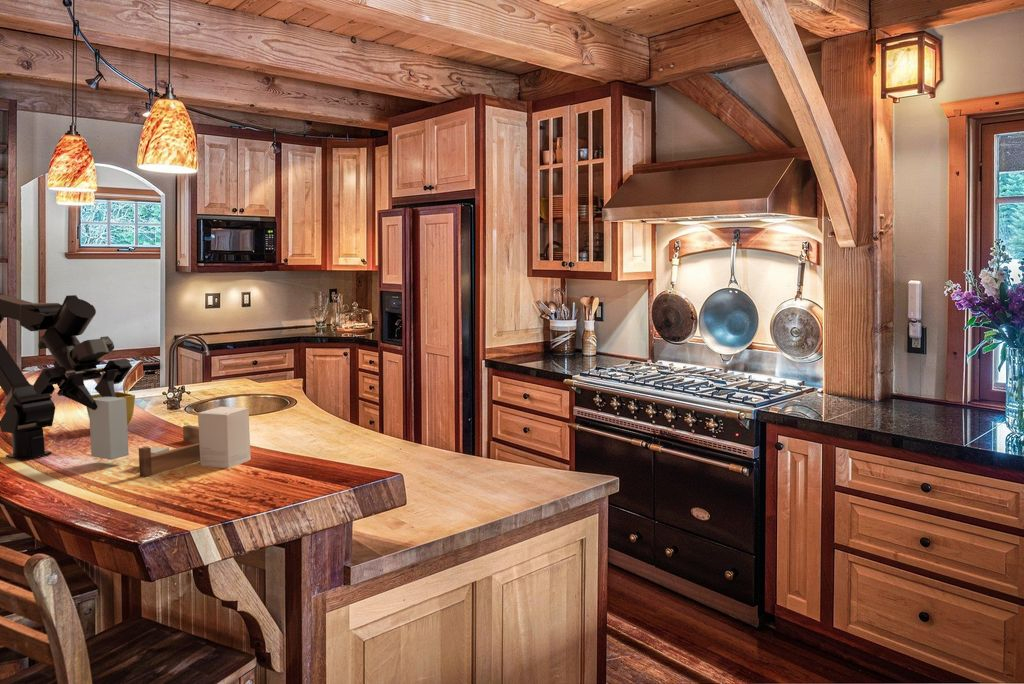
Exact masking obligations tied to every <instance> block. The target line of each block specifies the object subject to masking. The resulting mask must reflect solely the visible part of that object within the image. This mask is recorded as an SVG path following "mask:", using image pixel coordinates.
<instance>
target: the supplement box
mask: <svg viewBox="0 0 1024 684" xmlns="http://www.w3.org/2000/svg"><path fill="white" fill-rule="evenodd" d="M249 411H250V410H249V408H247V407H246V408H245V407H231V406H218V407H214V408H211V409H207V410H203V411H201V412H200V411H199V412H197V421H198V427H199V446H200V461H199V462H200V466H202V467H203V466H204V467H211V468H220V469H230V468H233V467H236V466H239V465H241V464H244V463H247V462H249V461H250V460H251V459H252V458H251V457H252V456H251V439H250V438H251V435H250V432H251V431H250V416H249V414H250V413H249Z"/></svg>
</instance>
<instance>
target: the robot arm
mask: <svg viewBox="0 0 1024 684" xmlns="http://www.w3.org/2000/svg"><path fill="white" fill-rule="evenodd" d="M96 313H97V310H96V307H95V306H94V305H93V304H91V303H89V302H88V301H86V300H84V299H82V298H79V297H78V296H77V295H75V294H74V295H73V294H72V295H66V296H65V297H64V300H63V302H62V304H61V303H59V302H38V303H37V302H30V301H28V300H24V299H20V298H18V297H17V298H16V297H12V296H9V295H6V294H4V293H1V292H0V324H1V323H2V322H3V321H4V320H5V317H6V318H10V319H13V320H15V321H18V322H19V325H20V326H21V327H22V328H24V329H26V330H28V331H30V332H40V331H41V332H42V331H44V332H43V335H40V338H39V342H38V349H39V350H44V349H46V350H47V349H48V351H49V353H50V354H51V355H52V357H53V358H54V362H53V364H52V365H53V367H48V368H47V367H44V368H43V369H42V370H41V371H40V373H39V375H38V376H37V379H36V380H35V382H34V383H33V384H31V383H30V382H29V381H28V379H27V378H26V376H25V374H24V373H23V372H22V370H21V368H20V367H19V365H18V363H16V361H15V360H14V358H13V356H12V355H11V353H10V352H9V350H8V349H7V347H6V346H5V344H4V343H3V341H2V340H1V339H0V388H1V389H2V391H3V393H4V394H5V396H6V398H5V404H4V409H5V412H4V414H3V416H2V417H1V419H0V431H1V433H8V434H11V443H12V453H10V454H5V458H7V457H8V458H7V459H13V460H18V461H27V459H28V460H33V459H35V458H39V456H41V457H44V455H45V456H49V455H52V451H50V450H49V451H48V450H46V449H45V448H46V447H45V446H46V445H45V435H44V428H49V427H52V426H53V423H54V418H55V412H56V405H55V402H54V401H53V400H52V395H53V393H54V392H55V390H56V388H55V385H57V387H58V388H59V390H58V392H57V394H56V395H58V396H59V397H60V396H62V397H64V398H67V399H69V400H72V401H75V402H77V403H79V404H81V405H83V406H85V407H86V408H87V407H88V408H90V409H92V410H96V408H97V404H96V402H95V401H94V399H93V397H92V396H91V395H92V394H91V393H90V391H89V389H88V388H87V387H86V385H85V381H92V380H93V381H94V382H95V384H96V386H95V387H94V388H93V389H94V390H95V391H96V393H98V394H100V395H101V396H102V397H104V396H110V397H116V396H115V392H116V391H115V386H114V385H118V384H121V383H122V382H123V381H124V380H125V378H126V377H127V375H128V374H129V372H130V371H131V369H132V368H133V365H132V364H131V363H130V361H129V360H128V359H127V358H118V359H109V360H108V361H107V363H106V364H105V366H102V367H98V366H97V365H100V364H101V362H102V359H101V358H102V357H104V356H105V355H109V354H110V352H112V351H114V350H115V344H114V342H113V340H112V339H111V338H110V337H109V336H108V335H107V336H106V335H105V336H101V337H99V338H94V339H87V340H83V341H82V342H80V340H79V339H78V337H79V336H80V335H83V334H84V333H85V331H86V330H87V328H88V326H89V325H90V323H91V322H92V320H93V318H94V317H95V315H97V314H96ZM0 329H1V325H0ZM77 336H78V337H77Z"/></svg>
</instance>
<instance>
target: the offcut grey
mask: <svg viewBox="0 0 1024 684" xmlns="http://www.w3.org/2000/svg"><path fill="white" fill-rule="evenodd" d="M149 448H151V455H154V454H158V453H162V452H166V451H169V450H170V448H169V447H164V446H163V447H160V446H151V447H149Z"/></svg>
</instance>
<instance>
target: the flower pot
mask: <svg viewBox="0 0 1024 684" xmlns="http://www.w3.org/2000/svg"><path fill="white" fill-rule="evenodd" d="M91 396H92V397H93V398H98V397H102V396H101V395H100V394H99V393H98V394H91ZM115 396H116V397H118V398H126V409H127V427H128V426H129V425H130V423H131V421H132V418H133V415H134V412H135V411H134V410H135V401H136V395H135V394H131V393H127V392H121V391H115ZM86 411H87V416H88V417H89V408H88V407H86Z"/></svg>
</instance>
